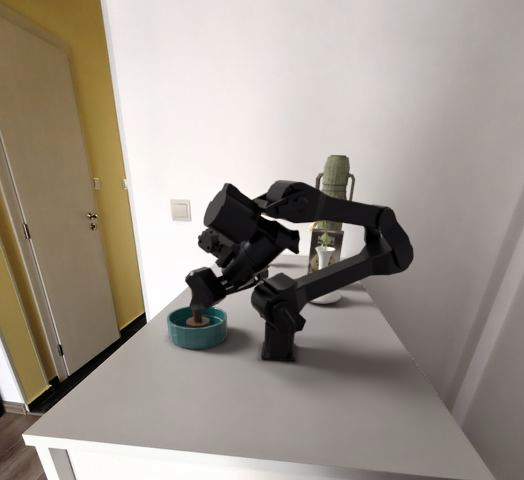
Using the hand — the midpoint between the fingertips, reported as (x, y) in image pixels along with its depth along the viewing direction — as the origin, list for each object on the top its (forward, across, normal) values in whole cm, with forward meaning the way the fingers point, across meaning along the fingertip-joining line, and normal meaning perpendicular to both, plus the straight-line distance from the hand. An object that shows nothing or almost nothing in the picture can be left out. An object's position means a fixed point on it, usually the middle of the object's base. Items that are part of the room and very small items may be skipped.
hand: (207, 301), depth 65 cm
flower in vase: (-2, -34, +13) cm, 37 cm away
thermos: (+4, -61, +7) cm, 61 cm away
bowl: (+8, 0, +4) cm, 9 cm away
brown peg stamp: (+7, 0, +4) cm, 8 cm away
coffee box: (+1, -48, +10) cm, 49 cm away
